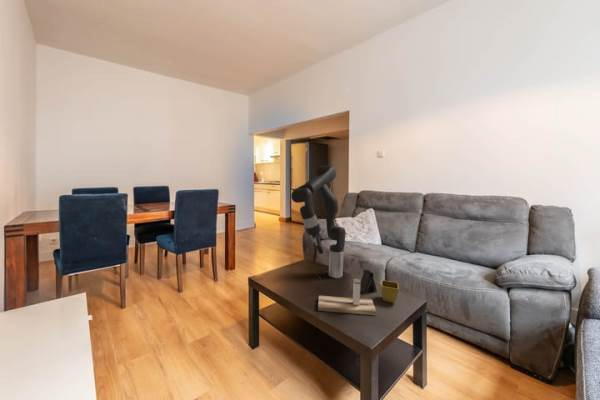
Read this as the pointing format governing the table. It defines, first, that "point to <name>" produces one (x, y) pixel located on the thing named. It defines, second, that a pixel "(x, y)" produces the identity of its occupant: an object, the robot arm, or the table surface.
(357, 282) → the fader knob
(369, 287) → the phone stand
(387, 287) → the flower pot
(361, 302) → the wooden slider board
